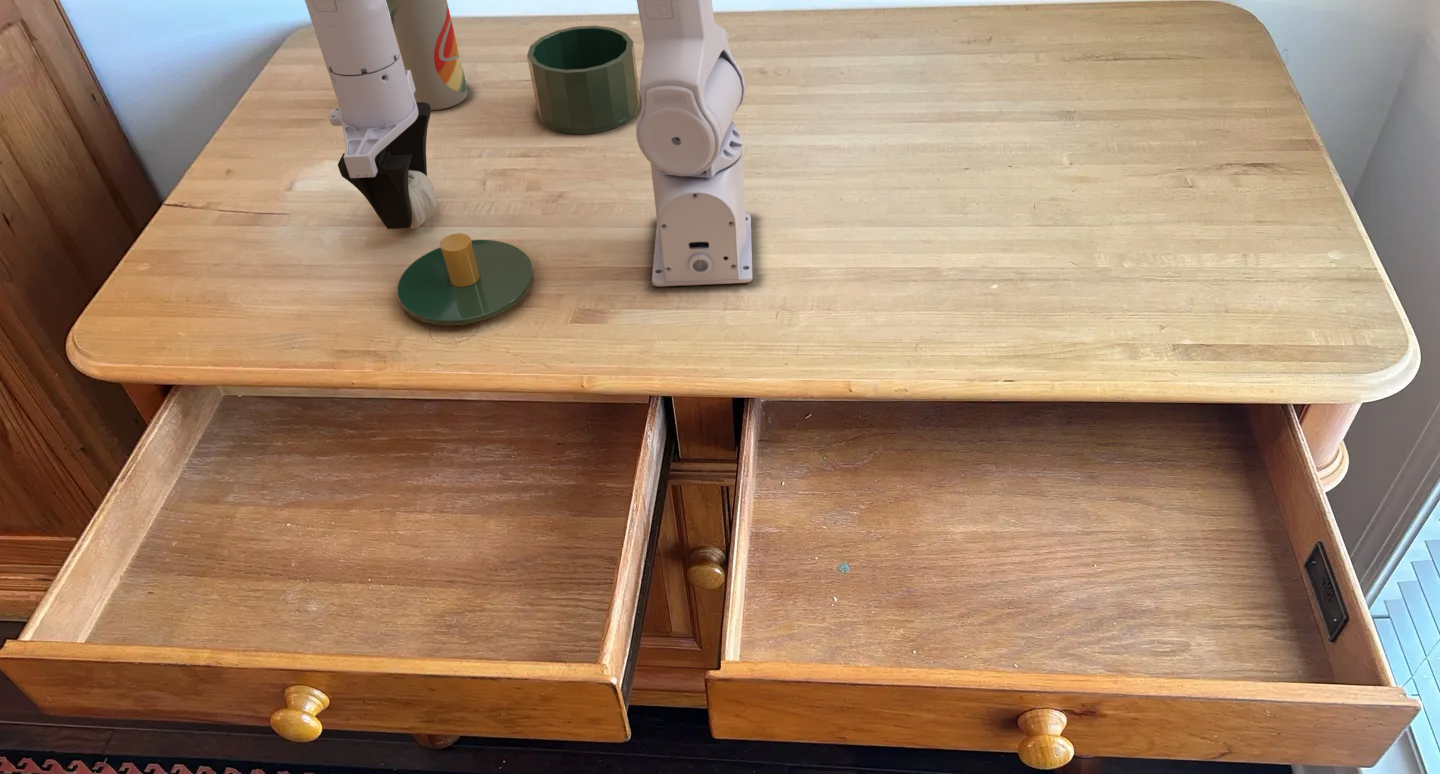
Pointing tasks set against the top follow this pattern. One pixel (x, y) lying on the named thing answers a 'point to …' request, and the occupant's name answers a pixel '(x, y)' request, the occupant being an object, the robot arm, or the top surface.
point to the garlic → (420, 197)
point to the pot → (584, 79)
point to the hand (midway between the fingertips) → (407, 206)
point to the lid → (465, 281)
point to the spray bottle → (429, 50)
